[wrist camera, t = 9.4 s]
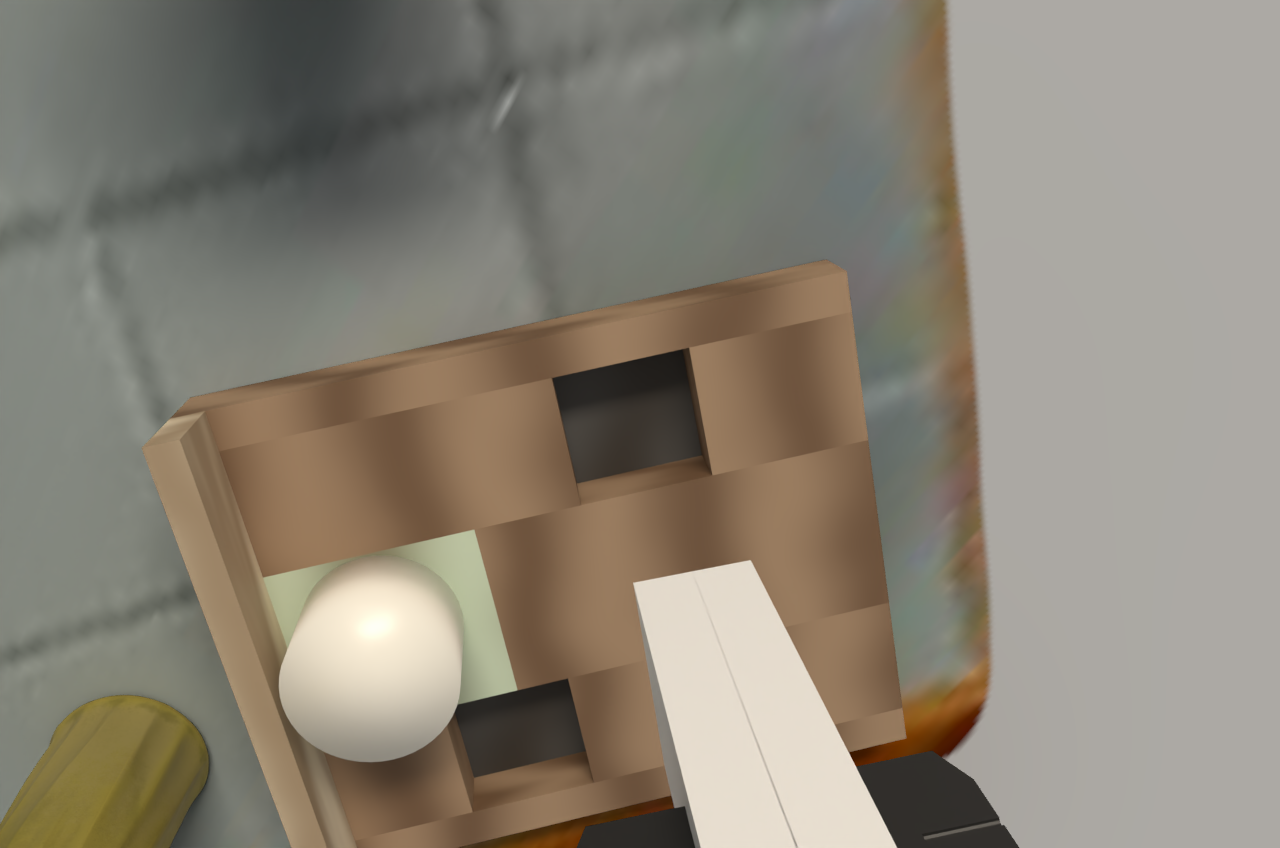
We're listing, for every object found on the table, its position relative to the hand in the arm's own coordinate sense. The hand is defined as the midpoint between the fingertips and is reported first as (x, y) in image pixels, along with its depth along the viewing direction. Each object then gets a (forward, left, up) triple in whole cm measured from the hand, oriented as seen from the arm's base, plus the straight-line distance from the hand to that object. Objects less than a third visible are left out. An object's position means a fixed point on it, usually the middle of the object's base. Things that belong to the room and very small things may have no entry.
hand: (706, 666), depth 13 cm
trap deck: (-3, -11, -27) cm, 29 cm away
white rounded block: (-10, -11, -25) cm, 28 cm away
